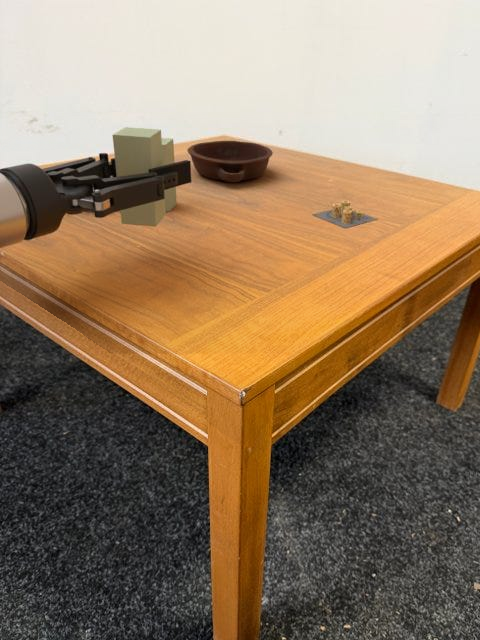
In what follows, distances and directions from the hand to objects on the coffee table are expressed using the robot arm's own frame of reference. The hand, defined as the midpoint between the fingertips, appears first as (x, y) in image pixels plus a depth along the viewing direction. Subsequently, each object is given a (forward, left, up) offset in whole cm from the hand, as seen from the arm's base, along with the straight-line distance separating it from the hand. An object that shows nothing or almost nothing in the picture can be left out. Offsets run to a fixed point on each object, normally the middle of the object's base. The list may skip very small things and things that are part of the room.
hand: (169, 166), depth 73 cm
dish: (0, +43, -12) cm, 44 cm away
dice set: (+24, +21, -12) cm, 34 cm away
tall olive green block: (-3, -4, -6) cm, 8 cm away
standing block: (-8, +19, -12) cm, 23 cm away
